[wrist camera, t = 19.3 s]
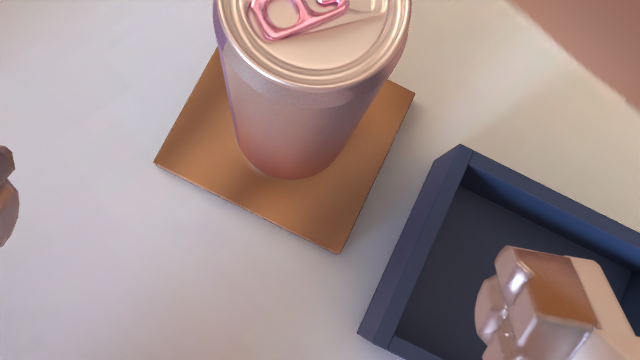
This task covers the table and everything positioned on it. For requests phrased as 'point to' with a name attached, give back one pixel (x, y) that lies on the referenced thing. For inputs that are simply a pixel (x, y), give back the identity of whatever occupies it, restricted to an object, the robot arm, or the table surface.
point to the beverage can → (304, 74)
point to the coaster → (274, 193)
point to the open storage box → (483, 254)
